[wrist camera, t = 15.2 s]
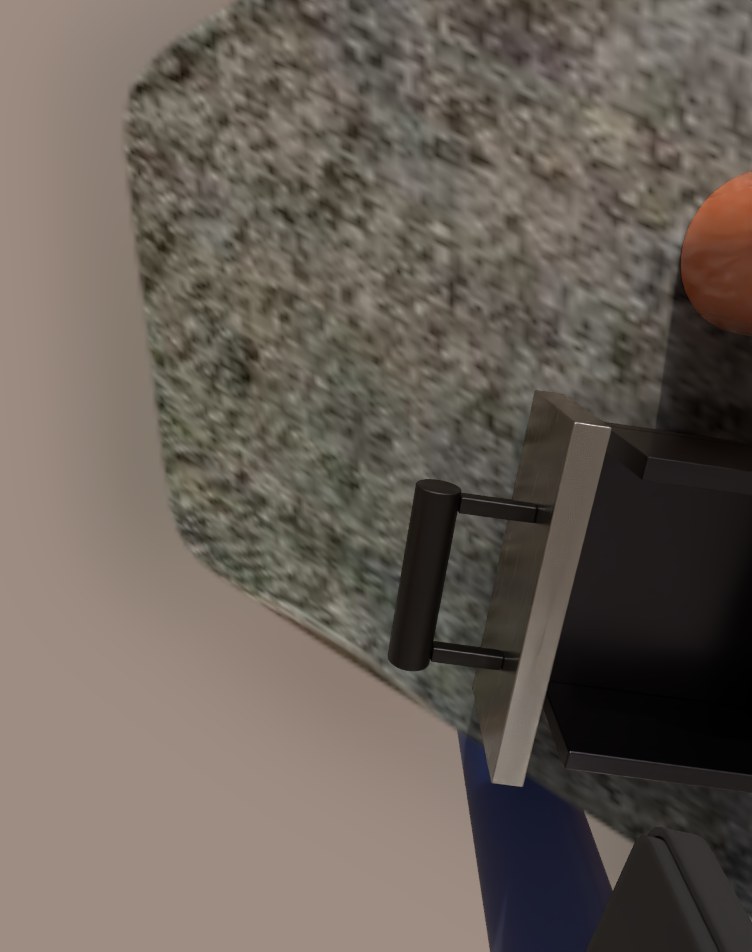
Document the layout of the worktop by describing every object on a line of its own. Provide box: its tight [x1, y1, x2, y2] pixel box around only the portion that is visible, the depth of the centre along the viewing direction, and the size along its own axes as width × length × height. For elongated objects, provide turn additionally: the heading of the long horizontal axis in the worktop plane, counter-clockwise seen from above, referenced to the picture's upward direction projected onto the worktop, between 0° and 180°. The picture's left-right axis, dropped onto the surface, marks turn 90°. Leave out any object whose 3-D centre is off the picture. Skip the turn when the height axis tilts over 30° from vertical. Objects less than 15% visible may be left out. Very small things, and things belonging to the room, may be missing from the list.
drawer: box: [388, 390, 752, 793], centre depth 26 cm, size 17×14×6 cm
